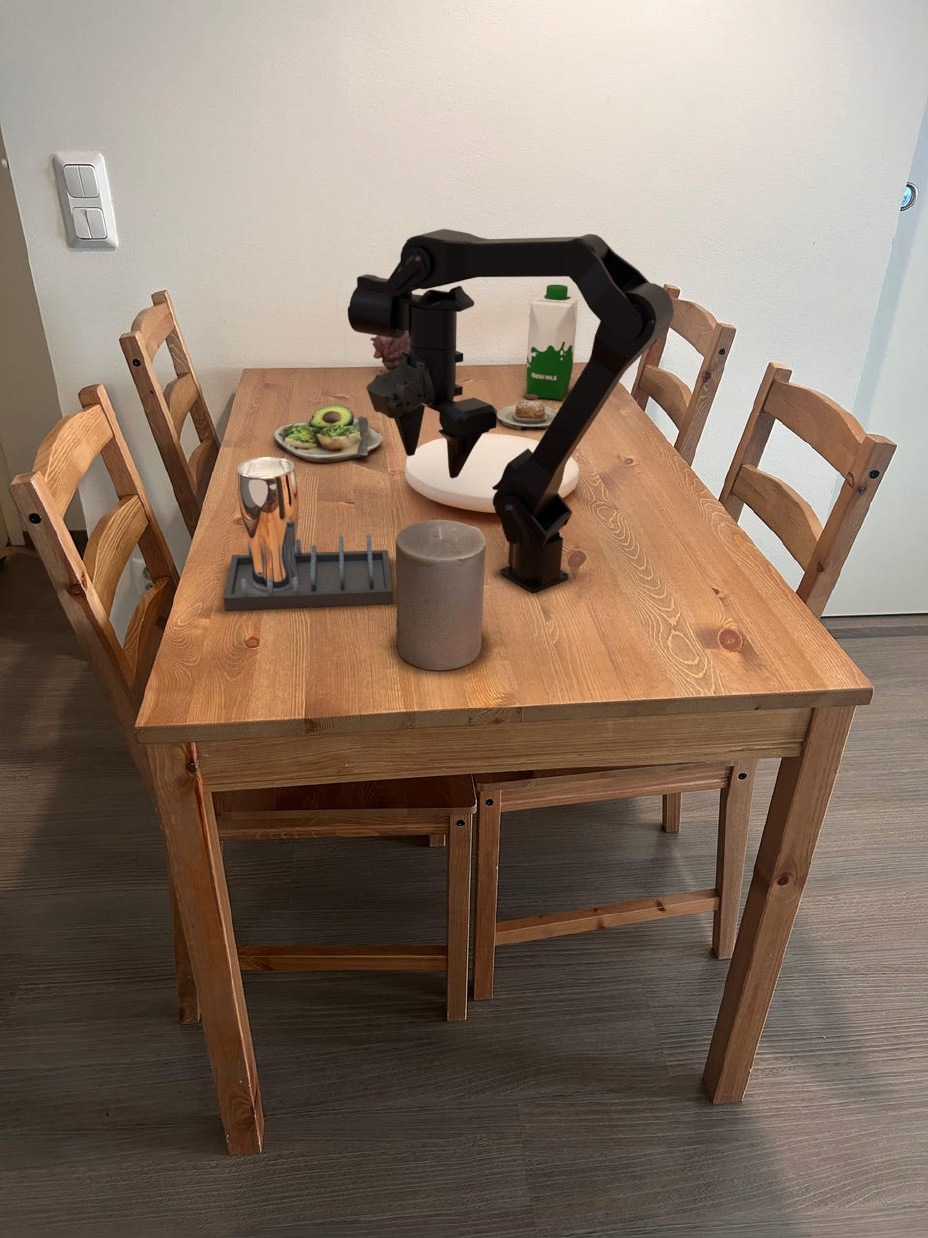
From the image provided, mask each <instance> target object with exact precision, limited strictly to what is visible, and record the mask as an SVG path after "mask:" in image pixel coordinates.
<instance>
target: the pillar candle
mask: <svg viewBox="0 0 928 1238" xmlns="http://www.w3.org/2000/svg"><path fill="white" fill-rule="evenodd" d="M486 545H487V538H486V537H485V535H484V533H482V531H481V529H479V528H478V527H477V526H473V525H470V524H467V523H463V522H460V521H457V520H456V521H455V520H450V519H448V520H447V519H431V520H430V519H429V520H423V521H418V522H414V523H412V524H408V525H407V526H405V527H404V528H403V529H400V530H399V532H398V533H397V535H396V537H395V599H396V624H395V625H396V644H395V648H396V650H397V653H398V654H397V655H398V656H399V657H401V659H402V660H403V661H405V662H406V663H407V664H409V665H411V666H414V667H416V668H418V669H419V668H420V669H423V670H428V671H451V670H457V669H460V668H463V667H465V666H468V665H470V664H472V663H473V662H474V661H475V660H477V659H478V657H479V656H480V653H481V648H482V638H483V620H484V619H483V617H484V592H485V569H486V567H485V565H486V548H487V546H486Z"/></svg>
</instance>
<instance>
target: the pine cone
mask: <svg viewBox="0 0 928 1238" xmlns="http://www.w3.org/2000/svg"><path fill="white" fill-rule="evenodd" d="M370 341H372V342H373V343H372V346H373V348H374V350H375V351H374V353H373V355H372V357H373V358H374V359H377V360H379V359H381V363H382V364H383V366H384V367H385V368H386V370H387V371H390V370H394V369H396V368H397V367H399V364H400V355H402V351H407V350H409V330H408V331H406V332H405V334H404V335H403V336H402V337H401V338H390V337H384V336H378V335H375V336H374V337H370Z"/></svg>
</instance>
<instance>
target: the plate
mask: <svg viewBox="0 0 928 1238" xmlns="http://www.w3.org/2000/svg"><path fill="white" fill-rule="evenodd" d="M539 442H540V440H536V439H532V438H528V437H524V436H518V435H512V434H501V433H483V434H482V435H481V437H480V439H479V440H478V442H477V443H476V445H475V446H474V448H473V449H472V451H471V453H470V455H469V457H468V459H467V461H466V463H465V464H464V466H463V468H462V470H461V472H460V474H459V476H458V477H456V478H450V476H449V469H448V452H447V440H446V439H445V438H444V437H441V438H436V439H434V440H433V439H432V440H431V441H428V442H426V443H423V444H422V445H420V446H418V447H417V448H416V452H415V454H414V455H413V456H406V457H407V458H406V461H405V467H404V476H405V479H406V481H407V484H408V485H409V486H410V487H411V488H412V489H414V491H415V492H417V493H419V494H421V495H422V496H424V497H425V498H427V499H429V500H431V501H434V502H437V503H440V504H442V505H446V506H450V507H453V508H459V509H462V510H466V511H467V510H468V511H475V512H482V513H491V514H492V513H493V514H496V512H495V508H494V506H493V497H494V495H495V493H496V491H497V490H493V489H492V487H493V486H495V485H496V484H497V483H498V482H499V481H500V480H501V478H502V475H503V472H504V469H505V467H506V466H507V464H508V463H509V462H510V461H511V460H513V459H514V458H515V457H517V456H518V455H519V454H521V453H522V452H524V451H525V450H526V449H529V450H530V451H531V452H532V453H533V452H534V450H535V448H536V447H537V445H538V444H539ZM579 481H580V469H579V465H578V462H577V461H576V460H575V459H574V458H573V456H572V455H571V456H570V458H569V460H568V461H567V463H566V465H565V469H564V475H563V480H562V483H561V485H560V488H559V490H558V494H559V495H560V496H561V497H562V499H563V498H565V497H567V496H568V495H569V494H570V493H571V492H573V491H574V490H575V489H576V488H577V485H578V483H579Z"/></svg>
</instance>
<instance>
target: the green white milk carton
mask: <svg viewBox="0 0 928 1238" xmlns="http://www.w3.org/2000/svg"><path fill="white" fill-rule="evenodd" d="M568 290H569V287H568V286H567V285H564V284H563V285H562V284H548V285H547V286H546V293H545V294H539V295H537V297H535V298H533V300H532V301H531V302H530V310H529V316H528V319H529V321H528V322H529V323H528V335H527V337H528V338H527V353H526V395H529V394H533V395H537V396H538V398H541V399H550V400H556V401H557V400H558V401H562V400H563V398H564V397H565V395H566V394H567V392H568V391H569V388H570V384H571V378H572V374H573V369H574V360H575V359H574V358H575V357H574V356H575V346H576V345H575V344H576V333H577V332H576V331H577V320H578V319H577V318H578V317H577V315H578V302H579V298H578V297H572V296H568V292H569V291H568Z"/></svg>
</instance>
